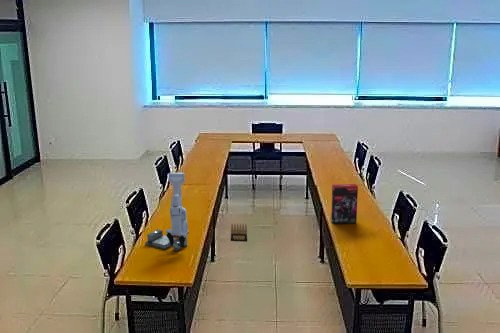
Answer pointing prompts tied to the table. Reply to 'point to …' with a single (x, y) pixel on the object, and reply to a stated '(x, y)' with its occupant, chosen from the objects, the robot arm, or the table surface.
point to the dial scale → (158, 240)
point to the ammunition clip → (239, 233)
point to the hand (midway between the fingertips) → (176, 245)
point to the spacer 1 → (176, 246)
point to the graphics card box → (344, 203)
